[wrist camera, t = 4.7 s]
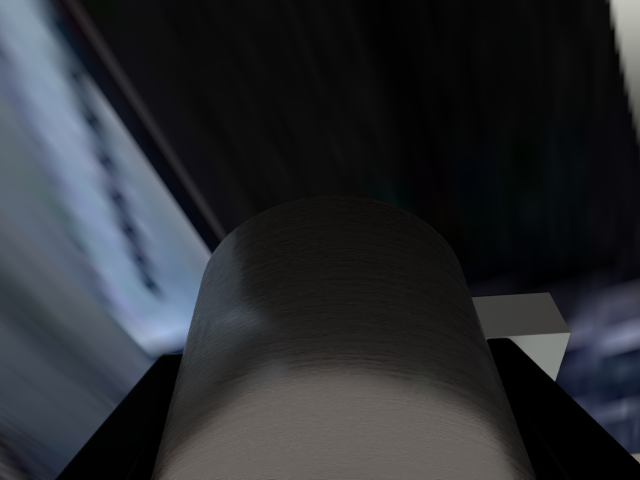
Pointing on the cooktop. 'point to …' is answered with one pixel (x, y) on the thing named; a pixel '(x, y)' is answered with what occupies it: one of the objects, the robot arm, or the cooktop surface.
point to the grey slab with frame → (527, 326)
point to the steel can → (338, 357)
